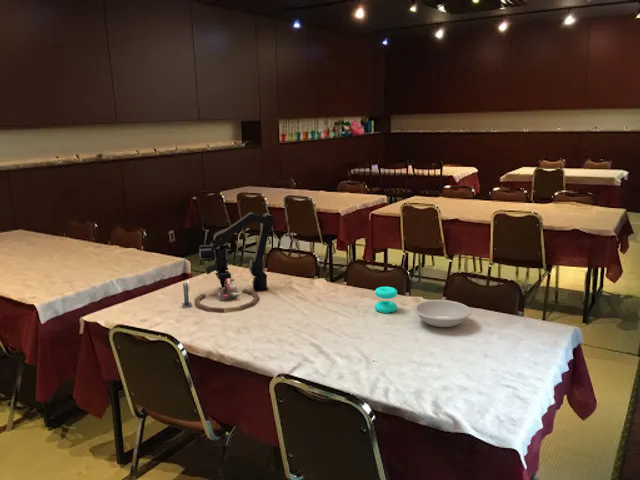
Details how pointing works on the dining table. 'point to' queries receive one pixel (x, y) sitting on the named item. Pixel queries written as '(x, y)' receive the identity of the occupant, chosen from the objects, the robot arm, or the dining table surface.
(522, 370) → the dining table surface
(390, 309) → the donuts
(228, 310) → the bent brown bar
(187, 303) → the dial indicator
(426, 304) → the soup bowl
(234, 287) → the brake caliper
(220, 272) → the robot arm
